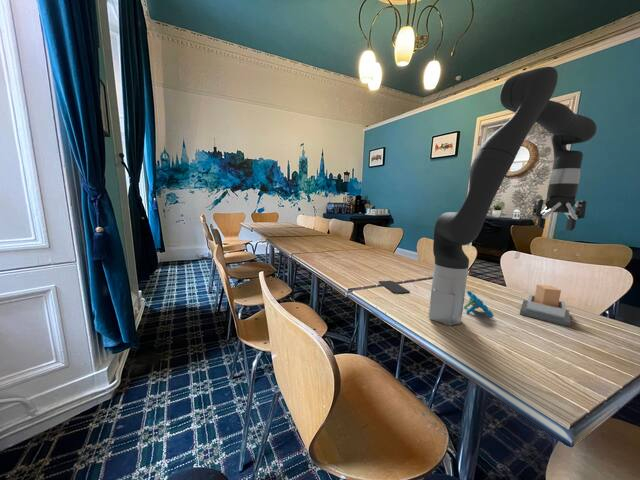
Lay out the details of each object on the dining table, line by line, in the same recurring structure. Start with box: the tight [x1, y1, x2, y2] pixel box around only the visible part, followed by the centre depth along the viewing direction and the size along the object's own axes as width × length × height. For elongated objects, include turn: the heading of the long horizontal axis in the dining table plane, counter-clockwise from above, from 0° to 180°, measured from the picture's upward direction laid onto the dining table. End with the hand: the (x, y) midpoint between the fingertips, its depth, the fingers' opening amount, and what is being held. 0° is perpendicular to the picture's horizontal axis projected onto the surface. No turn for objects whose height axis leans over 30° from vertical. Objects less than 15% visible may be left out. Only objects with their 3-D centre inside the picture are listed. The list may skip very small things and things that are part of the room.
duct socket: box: [519, 294, 571, 328], centre depth 85 cm, size 13×12×4 cm
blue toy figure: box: [463, 290, 495, 318], centre depth 83 cm, size 11×6×10 cm
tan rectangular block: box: [534, 284, 562, 307], centre depth 84 cm, size 4×4×8 cm
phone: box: [378, 280, 411, 295], centre depth 107 cm, size 7×1×15 cm
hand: (554, 229), depth 89 cm, fingers open, 8 cm apart
